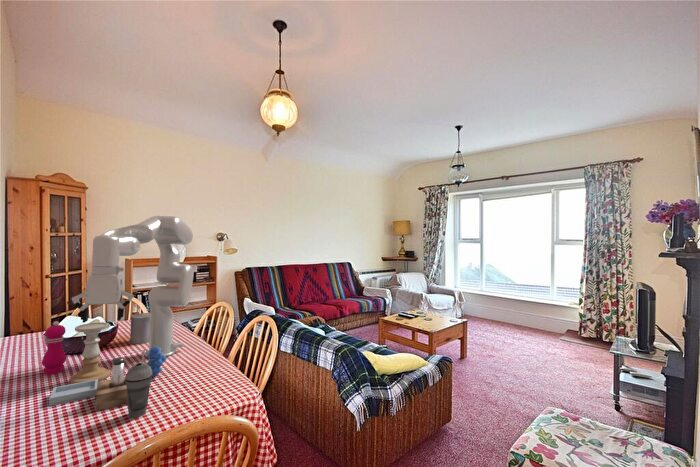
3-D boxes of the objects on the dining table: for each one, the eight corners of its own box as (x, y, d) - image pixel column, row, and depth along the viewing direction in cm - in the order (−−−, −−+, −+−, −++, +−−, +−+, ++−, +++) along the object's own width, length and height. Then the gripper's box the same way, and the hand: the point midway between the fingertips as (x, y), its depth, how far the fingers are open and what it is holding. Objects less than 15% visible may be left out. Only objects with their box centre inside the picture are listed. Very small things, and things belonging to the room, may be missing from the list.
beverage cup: (132, 408, 103) (134, 345, 103) (155, 407, 103) (158, 345, 104) (117, 420, 95) (120, 353, 96) (143, 420, 96) (145, 353, 96)
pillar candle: (131, 339, 168) (132, 311, 168) (153, 337, 173) (153, 309, 173) (128, 345, 160) (129, 315, 160) (151, 343, 164) (152, 313, 164)
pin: (122, 395, 110) (124, 356, 110) (122, 399, 108) (124, 359, 108) (111, 398, 108) (112, 358, 108) (111, 402, 106) (112, 361, 106)
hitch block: (135, 388, 116) (136, 374, 116) (137, 401, 107) (138, 386, 107) (96, 396, 109) (97, 382, 109) (95, 411, 100) (96, 395, 100)
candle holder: (64, 388, 114) (66, 331, 115) (74, 374, 125) (77, 323, 126) (106, 381, 120) (108, 328, 120) (113, 369, 131) (115, 320, 131)
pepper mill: (50, 376, 123) (53, 324, 123) (36, 374, 125) (38, 322, 125) (70, 369, 130) (72, 319, 131) (56, 367, 132) (58, 318, 132)
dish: (97, 385, 117) (98, 379, 117) (96, 396, 109) (97, 388, 109) (53, 394, 109) (53, 387, 109) (49, 406, 102) (49, 398, 102)
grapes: (171, 377, 125) (172, 346, 125) (152, 383, 120) (153, 351, 120) (161, 368, 133) (162, 340, 133) (142, 373, 128) (143, 343, 128)
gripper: (136, 269, 118) (134, 316, 118) (77, 270, 111) (74, 320, 110) (133, 271, 111) (130, 321, 111) (69, 272, 104) (66, 325, 103)
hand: (102, 320), depth 110 cm, fingers open, 9 cm apart
